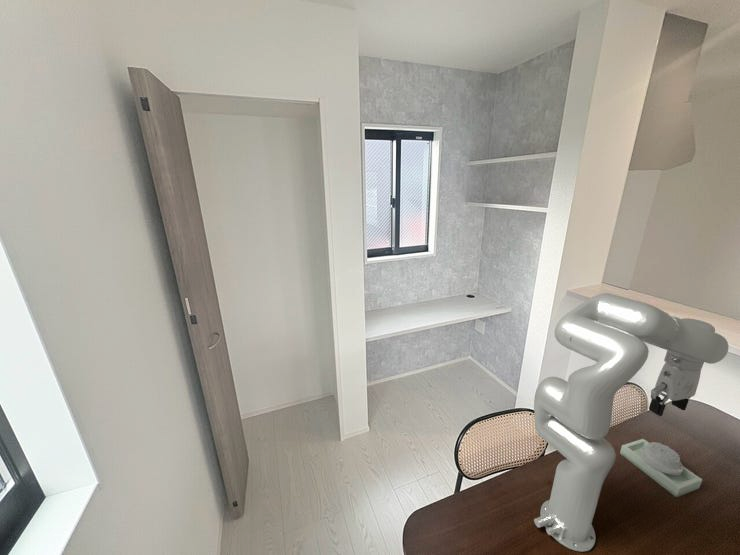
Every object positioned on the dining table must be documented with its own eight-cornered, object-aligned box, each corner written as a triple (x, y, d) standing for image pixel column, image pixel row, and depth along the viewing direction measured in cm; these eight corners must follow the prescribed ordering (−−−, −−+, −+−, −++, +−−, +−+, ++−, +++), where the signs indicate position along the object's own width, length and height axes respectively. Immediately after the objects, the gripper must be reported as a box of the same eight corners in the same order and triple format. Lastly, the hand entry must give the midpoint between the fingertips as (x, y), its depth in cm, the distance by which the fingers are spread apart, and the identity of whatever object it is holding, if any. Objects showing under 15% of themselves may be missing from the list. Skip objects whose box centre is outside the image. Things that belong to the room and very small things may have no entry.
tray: (676, 497, 88) (679, 488, 87) (619, 453, 102) (622, 445, 101) (699, 488, 90) (702, 479, 89) (640, 446, 105) (643, 438, 104)
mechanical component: (652, 472, 91) (691, 478, 89) (656, 461, 90) (695, 467, 88) (632, 446, 101) (667, 451, 99) (635, 436, 100) (670, 440, 97)
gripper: (678, 372, 79) (660, 424, 84) (721, 363, 84) (702, 413, 88) (646, 357, 86) (632, 406, 91) (687, 350, 91) (671, 397, 95)
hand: (666, 410), depth 90 cm, fingers open, 9 cm apart
